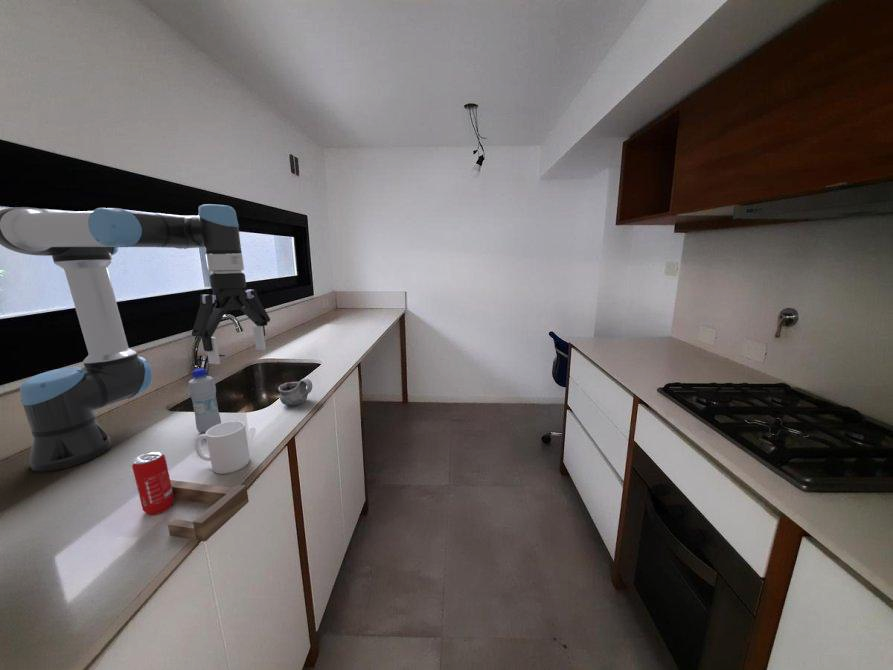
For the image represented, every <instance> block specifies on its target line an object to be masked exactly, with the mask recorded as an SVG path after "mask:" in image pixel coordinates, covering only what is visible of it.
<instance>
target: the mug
mask: <svg viewBox="0 0 893 670" xmlns="http://www.w3.org/2000/svg"><path fill="white" fill-rule="evenodd" d="M277 389H278V391H279V400H280V402H281V404H282V405H284V406H288V407H295V406H299V405H301V404H303V403H304V402H305V401H306V400H307V399H308V396H309V394H310V393H311V392H312V389H313V382H312V381H311V379H309V378H306V377H305V378H302V379H300V380H299V381H291V382H290V381H289V382H285V383H282V384H280V385H279V386H278V388H277Z"/></svg>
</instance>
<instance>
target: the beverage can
mask: <svg viewBox="0 0 893 670" xmlns="http://www.w3.org/2000/svg"><path fill="white" fill-rule="evenodd" d="M163 453H164V452H163V451H161V450H154V451H153V450H152V451H150V452H149V451H148V452H146V453H143V454H141V455H138V456H137V457H136V458H134V459H133V461H132V466H131V467H132V472H133V476H134V480H135V483H136V487H137V492H138V493H137V494H138V496H139V501H140V504H141V508H142V511H143V512H144V513H146V515H148V516H157V515H160V514H162V513H165V512H167V511H168V510H169V509H171V508H172V506H173V505H174V504H173V503H174V500H175V499H174V495H173V491H172V486H171V482H170V480H171V478H170V473H169V469H168V464H167V459H166V456H165V454H163Z"/></svg>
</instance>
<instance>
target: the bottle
mask: <svg viewBox="0 0 893 670" xmlns="http://www.w3.org/2000/svg"><path fill="white" fill-rule="evenodd" d="M216 388H217V386H216V384H215V381H214V379H213V377H212V376H210V375H208V374H207V370H206V369H205V368H196V369H194V370H193V371H192V379H190V380H189V381H188V393H189V397H190V398H191V401H192V407H193V413H194V416H195V417H194V418H195V426H196V430H197V431H198V433H199V435H202V434H206V431H207V430H208V429H210V428H211V427H213V426H215V425H218V424H221V423H222V419H221V415H220V412H219V408H218V407H219V406H218V401H217V400H218V399H217V396H216V393H217V389H216Z"/></svg>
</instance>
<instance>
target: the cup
mask: <svg viewBox="0 0 893 670" xmlns="http://www.w3.org/2000/svg"><path fill="white" fill-rule="evenodd" d="M202 440H206V443H207V448H208V453H209V455H207V454H205V453H203V451H202V448H201V447H202V446H201V442H202ZM194 449H195V452H196V455H197V456H198V457H199V458H200V459H201V460H203V461H207V462H210V464H211V469H212V471H213V472H214V473H216V474H219V475H223V474H224V475H225V474H227V475H228V474H231V473H235V472H236V471H237V472H238V471H240V470H241V469H243V468H245V467H246V466H247V465H248V464H249V462H250V457H251V456H250V451H249V445H248V438H247V430H246V424H245V423H244V422H243V421H242V420H241V421H240V420H233V421H232V420H231V421H225V422H221V424H218V425H215V426H213V427H211V428H210V429H208V430H207V431H206V433H205V434H202V435H201V434H199V435H198V436H197V437H196V439H195V442H194Z"/></svg>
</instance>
